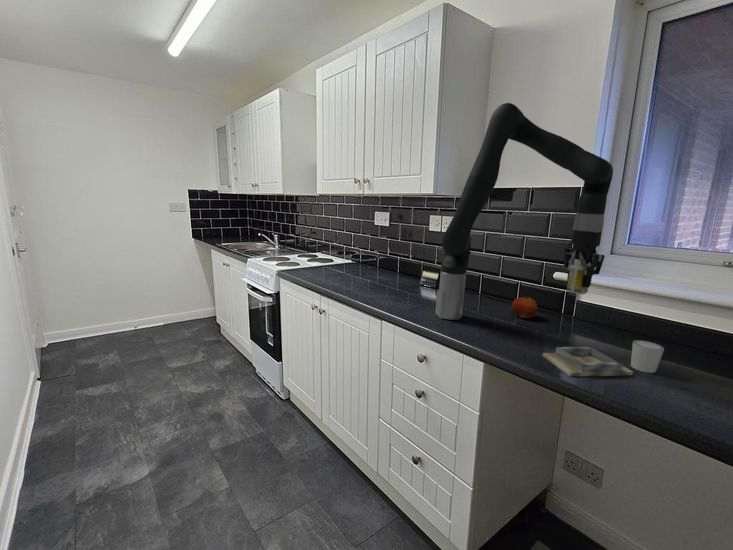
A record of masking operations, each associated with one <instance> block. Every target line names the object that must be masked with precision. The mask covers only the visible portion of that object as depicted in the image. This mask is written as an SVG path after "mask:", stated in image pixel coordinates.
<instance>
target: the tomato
mask: <svg viewBox="0 0 733 550" xmlns="http://www.w3.org/2000/svg"><path fill="white" fill-rule="evenodd" d="M537 310H538V304H537V302H536V300H535V299H533V298H532V297H529V296H524V297H523V296H521V297H520V296H519V297H516V298H514V300H513V301H512V303H511V311H512V312H513V313H514V314H515V316H517V317H518V318H521V319H532V318H533V317H535V315H536V314H537Z"/></svg>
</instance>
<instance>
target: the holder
mask: <svg viewBox="0 0 733 550" xmlns="http://www.w3.org/2000/svg"><path fill="white" fill-rule="evenodd" d="M542 357H543V358H544V359H546V360H547V361H548V362H550V363H551V364H553V365H554V366H555V367H556V368H558V369H559V370H560V371H562V372H563V373H564V374H566V375H567V376H569V377H609V376H611V377H612V376H617V377H618V376H620V377H621V376H633V375H634V371H633V370H630V369H629V368H627V367H625V366H624V365H623V364H621V362H618V361H617V360H614V359H613V358H611V357H610V356H608V355H606V354H604V353H603V352H601V351H599V350H597V349H596V348H594V347H593V346H559V347H558V346H557V347H555V352H542Z"/></svg>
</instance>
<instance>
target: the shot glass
mask: <svg viewBox="0 0 733 550" xmlns="http://www.w3.org/2000/svg"><path fill="white" fill-rule="evenodd" d="M631 347H632V348H631V359H630V360H631V361H630V366H631V367H632V368H633V369H635V370H637V371H640V372H643V373H650V374H654V373H656V372H657V370H658V367H659V364H660V361H661V359H662V357H663V355H664V354H663V353H664V351H665V347H663V346H662V345H660V344H658V343H656V342H652V341H647V340H642V339H640V340H639V339H635V340H633V341H632V346H631Z"/></svg>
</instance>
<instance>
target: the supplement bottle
mask: <svg viewBox="0 0 733 550" xmlns="http://www.w3.org/2000/svg"><path fill="white" fill-rule="evenodd" d="M588 264H590V263H588ZM588 271H589V268H588ZM583 275H584V271H583V268H582V267H581V260H578V259H575V260H574V265H571V267H570V272H569V279H568V281H567V285H566V287H567V288H566V291H567V292H568V293H571V294H577V295H586V294H587V293H588V292H589V291H588V290H589V287H582V286H581V285H582V279H583Z"/></svg>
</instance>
